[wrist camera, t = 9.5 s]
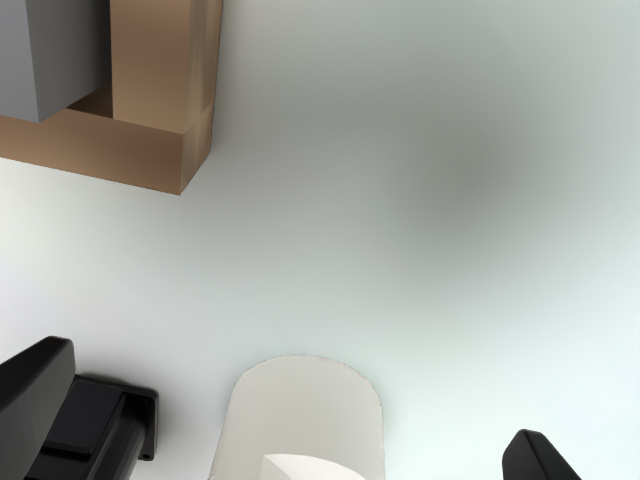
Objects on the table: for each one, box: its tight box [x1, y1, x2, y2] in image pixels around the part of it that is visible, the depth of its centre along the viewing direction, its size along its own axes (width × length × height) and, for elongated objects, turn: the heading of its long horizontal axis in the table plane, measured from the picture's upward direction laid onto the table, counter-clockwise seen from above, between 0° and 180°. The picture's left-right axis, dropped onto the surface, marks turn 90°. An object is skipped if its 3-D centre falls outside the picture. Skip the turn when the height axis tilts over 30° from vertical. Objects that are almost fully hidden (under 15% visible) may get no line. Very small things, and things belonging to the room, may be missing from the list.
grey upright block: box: [0, 0, 112, 123], centre depth 15 cm, size 4×4×7 cm
